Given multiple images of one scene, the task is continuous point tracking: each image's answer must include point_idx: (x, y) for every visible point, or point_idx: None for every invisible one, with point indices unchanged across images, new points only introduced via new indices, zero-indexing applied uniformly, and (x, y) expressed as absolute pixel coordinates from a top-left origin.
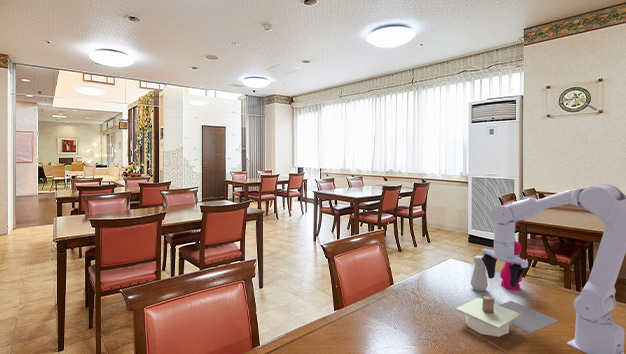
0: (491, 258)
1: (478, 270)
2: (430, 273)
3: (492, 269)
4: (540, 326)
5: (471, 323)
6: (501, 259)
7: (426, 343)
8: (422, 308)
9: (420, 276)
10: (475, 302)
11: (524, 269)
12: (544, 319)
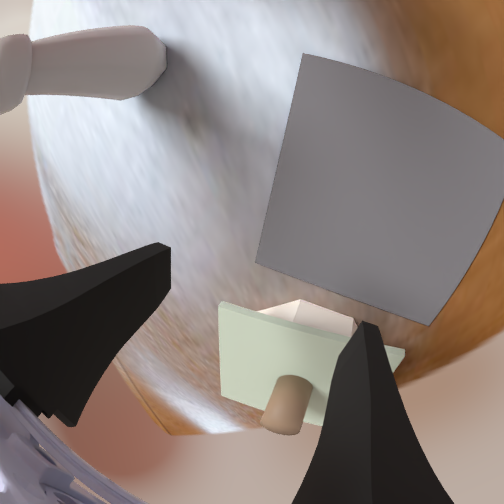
0: (44, 405)
1: (60, 92)
2: (34, 107)
3: (116, 310)
4: (465, 258)
5: None
6: (123, 496)
7: (247, 421)
8: (155, 333)
9: (36, 153)
10: (235, 351)
11: (436, 500)
12: (479, 176)
